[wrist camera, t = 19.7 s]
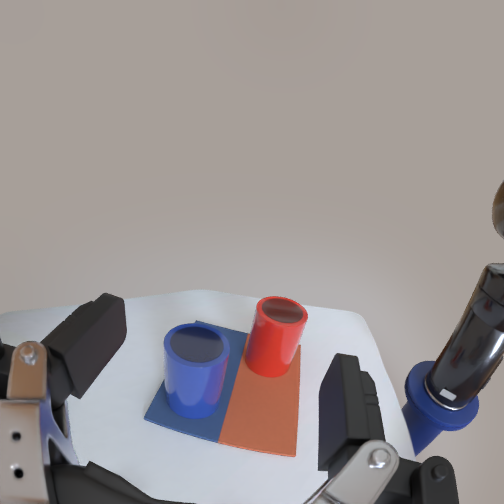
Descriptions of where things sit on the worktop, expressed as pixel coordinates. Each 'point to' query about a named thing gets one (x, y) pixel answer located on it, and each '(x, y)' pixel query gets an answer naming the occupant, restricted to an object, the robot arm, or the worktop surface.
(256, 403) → the sorting mat
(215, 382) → the blue beaker
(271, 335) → the red beaker
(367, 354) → the worktop surface
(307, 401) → the worktop surface
